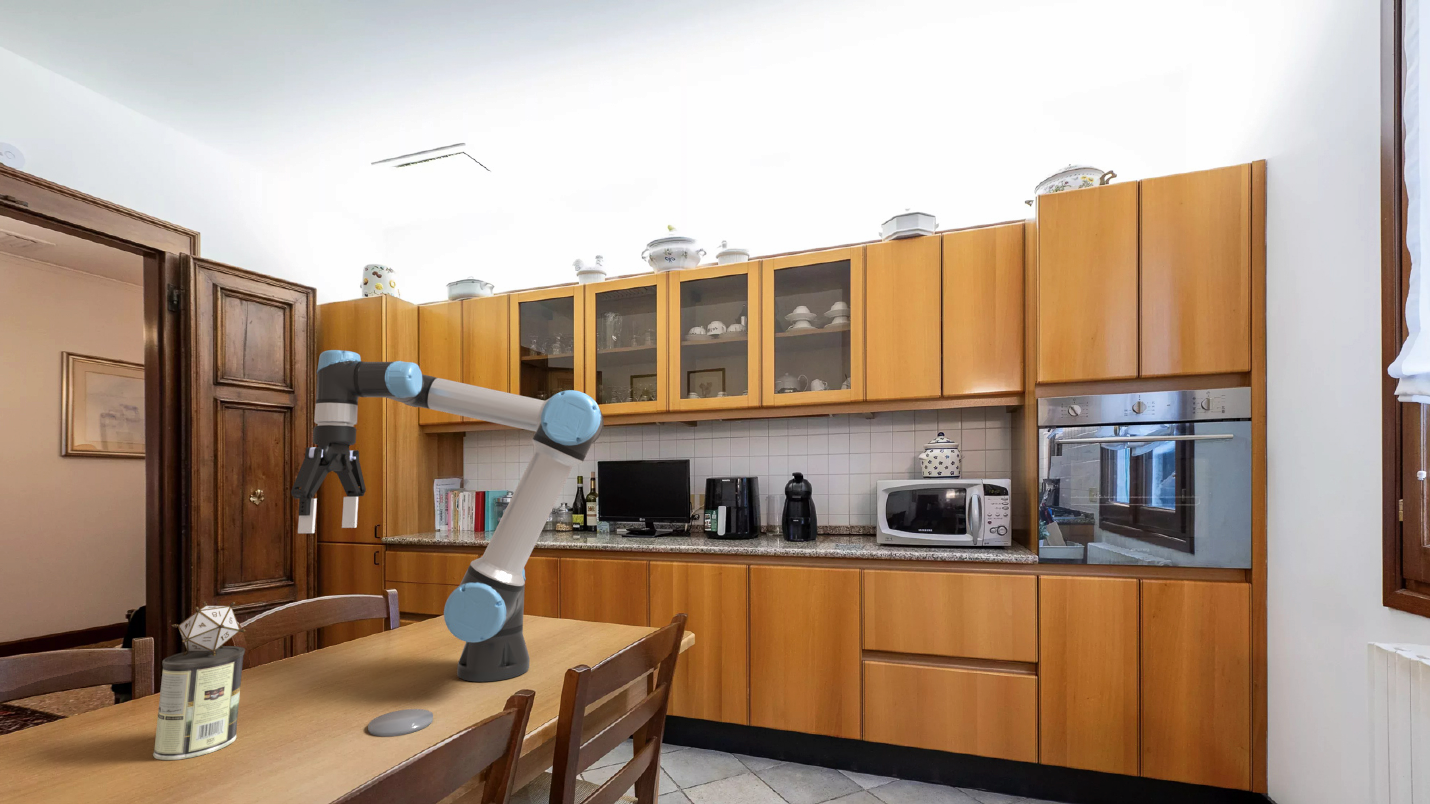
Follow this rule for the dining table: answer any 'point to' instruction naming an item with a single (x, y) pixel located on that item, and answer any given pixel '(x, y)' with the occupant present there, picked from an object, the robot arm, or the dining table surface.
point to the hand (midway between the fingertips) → (328, 530)
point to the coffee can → (198, 703)
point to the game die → (209, 628)
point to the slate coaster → (400, 722)
